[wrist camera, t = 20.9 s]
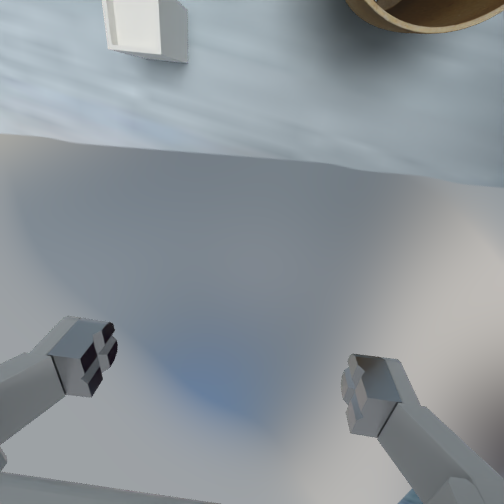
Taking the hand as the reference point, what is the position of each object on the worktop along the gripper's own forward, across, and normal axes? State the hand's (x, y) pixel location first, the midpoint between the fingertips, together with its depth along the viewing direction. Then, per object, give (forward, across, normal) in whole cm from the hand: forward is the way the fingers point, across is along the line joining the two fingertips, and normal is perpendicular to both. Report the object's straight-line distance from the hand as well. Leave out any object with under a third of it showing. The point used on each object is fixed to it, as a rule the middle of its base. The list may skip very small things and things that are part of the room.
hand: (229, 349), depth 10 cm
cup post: (+33, +13, -12) cm, 38 cm away
